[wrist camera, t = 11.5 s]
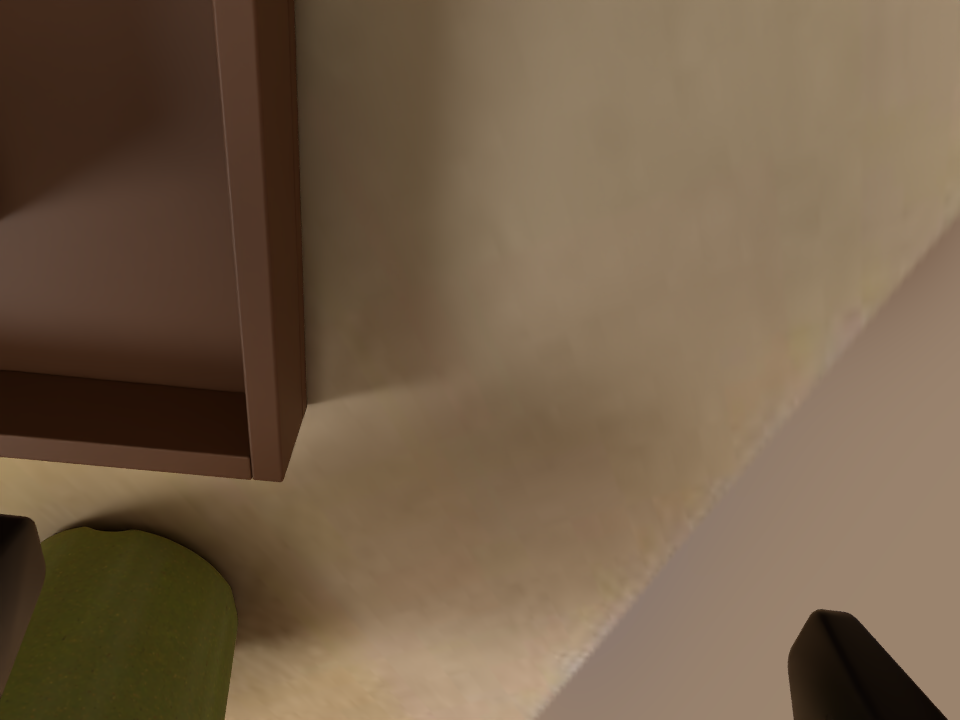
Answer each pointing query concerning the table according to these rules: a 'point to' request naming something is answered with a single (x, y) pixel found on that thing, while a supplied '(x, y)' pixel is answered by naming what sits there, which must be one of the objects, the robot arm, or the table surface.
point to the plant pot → (124, 633)
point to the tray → (151, 235)
